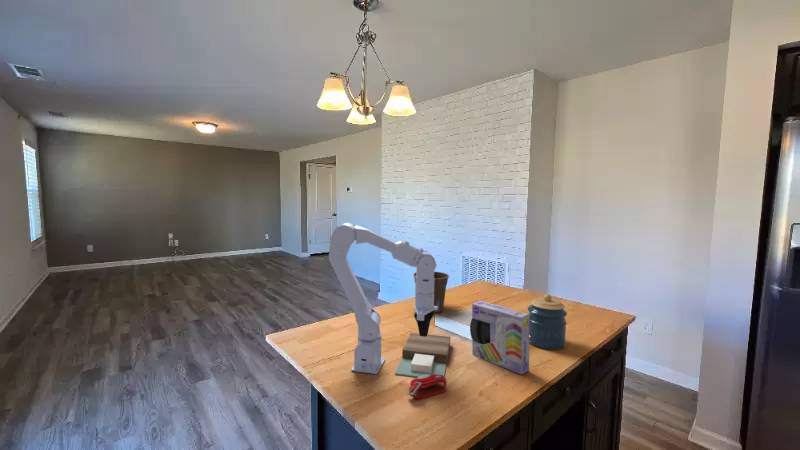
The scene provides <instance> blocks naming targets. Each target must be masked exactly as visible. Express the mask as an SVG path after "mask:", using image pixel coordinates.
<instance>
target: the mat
mask: <svg viewBox="0 0 800 450" xmlns="http://www.w3.org/2000/svg"><path fill="white" fill-rule="evenodd" d="M411 362H412V359H403V358H401V360H400V362H399V363H398V365H397V368H396V370H395V373H394V375H397V376H403V377H405V376H406V377H410V378H411V377H413V378H416V377H418V376H420V375H423V374H431V375H442V376H444V377H445V374H446V369H447V364H445V363H437V362H434V364H433V368H432V371H431V373H427V372H419V371H411Z"/></svg>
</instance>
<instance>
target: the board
mask: <svg viewBox="0 0 800 450" xmlns="http://www.w3.org/2000/svg"><path fill="white" fill-rule="evenodd" d="M450 348H451V336H447V335H446V336H445V335H435V334H427V337H424V336H420V334H419V333H415V332H410V334H409V336H408V337H407V340H406V341H405V344H404V346H403V347H402V352H401V353H402V354H401V355H402V356H401V357H402V358H403V359H412V360H413V358H414V355H415V354H424V355H433V356H434V362H437V363H445V364H446V365H447V363H448V358H449V352H450ZM402 358H401V359H402Z"/></svg>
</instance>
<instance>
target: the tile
mask: <svg viewBox="0 0 800 450" xmlns="http://www.w3.org/2000/svg"><path fill="white" fill-rule="evenodd" d="M433 364H434V356H433V355H424V354H415V355H414V358H413V360H412V362H411V371H419V372H427V373H431V371H432V368H433Z"/></svg>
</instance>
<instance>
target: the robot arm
mask: <svg viewBox="0 0 800 450" xmlns="http://www.w3.org/2000/svg"><path fill="white" fill-rule="evenodd" d="M329 240H330V241H329V242H330V245H329V251H328V261H329V263H330V265H331V266H332V269H333V271H334V273H335V276H336V277H337V279H338V282H339V283H340V285H341V288H342V289H343V292H344V293H345V296H346V298H347V300H348V302H349V304H350V306H351V308H352V311H353V312H354V317H355V322H356V323H357V332H358V334H357V345H356V347H355V348H354V353H353V354H354V356H353V357H354V360H353V361H354V364H353V366H352V367H351V370H350V371H352V372H359V373H364V374H372V375H377V374H379V371H380V370H381V368H382V366H383V364H384V362H385V361H386V357H382V332H381V331H380V330H381V329H380V324H381V322H382V321H381V316H380V314H379V312H377V311H376V310H375V309H374V308H373V306H372V304H371V303H370V302H369V300H368V299H367V297H366V295H365V293H364V291H363V288H362V286H361V284H360V282H359V280H358V278H357V276H356V274H355V272H354V270H353V268H352V266H351V263H350V261H349V259H348V257H347V255H348V253H349V251H350V248H351V246H352V244H354V242H355V245H358V244H359V245H361V244H365V243H367V244H369V245H372V246H374V247H377V248H379V249H381V250H384V251H387V252H388V253H390V254H391V256H392V259H394V260H396V261H398V262H401V263H403V264H406V265H407V266H410V267H411V268H412V267H413V268H415V267H416V270H415V271H416V272H415V273H416V280H415V279H414V284H415V288H414V289H415V290H414V305H413V306H414V307H413V308H414V310H415V312H414V313H413V317H414V319H415V321H416V324H417V327H418V334H420V336H424V337H427V335H429V334H428V333H429V329H430V324H431V322H432V321H431V320H432V319H433V317H434V314H435V313H434V311H433V310H437V309H438V307H437V306H434V271H435V270H436V268H437V264H436V263H437V262H436V259H435V258H434V256H433V254H431V253H430V252H428V250H424V248H421V247H420V248H417V247H415V246H413V245H411V244H410V242H409V241H408V240H404V241H402V240H400V241H396V242H394V241H392V240H390V239H389V238H387V237H385V236H382V235H380V234H378V233H377V232H374V231H372V230H371V229H369V228H366V227H363V226H360V225H357V224H356V225H355V224H353V223H352V222H344V223H342V224H340V225H339V226H336V228H335V229H334V230H333V232H332V234H331V236H330V237H329Z"/></svg>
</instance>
